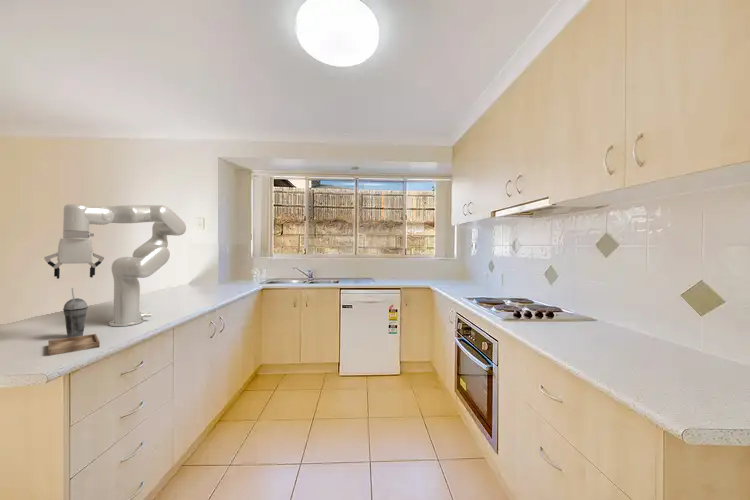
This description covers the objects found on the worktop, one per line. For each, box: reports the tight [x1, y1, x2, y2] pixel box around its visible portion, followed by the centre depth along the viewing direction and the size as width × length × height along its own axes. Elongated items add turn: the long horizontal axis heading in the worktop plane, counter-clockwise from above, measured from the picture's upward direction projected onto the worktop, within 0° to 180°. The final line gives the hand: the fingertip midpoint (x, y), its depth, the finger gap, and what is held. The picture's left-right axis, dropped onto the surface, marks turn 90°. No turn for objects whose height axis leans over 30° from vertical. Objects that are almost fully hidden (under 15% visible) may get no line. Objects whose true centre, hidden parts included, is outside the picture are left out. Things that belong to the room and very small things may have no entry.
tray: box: [47, 333, 100, 356], centre depth 114 cm, size 13×13×2 cm
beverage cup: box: [62, 287, 89, 338], centre depth 124 cm, size 7×7×20 cm
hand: (75, 277), depth 124 cm, fingers open, 9 cm apart
